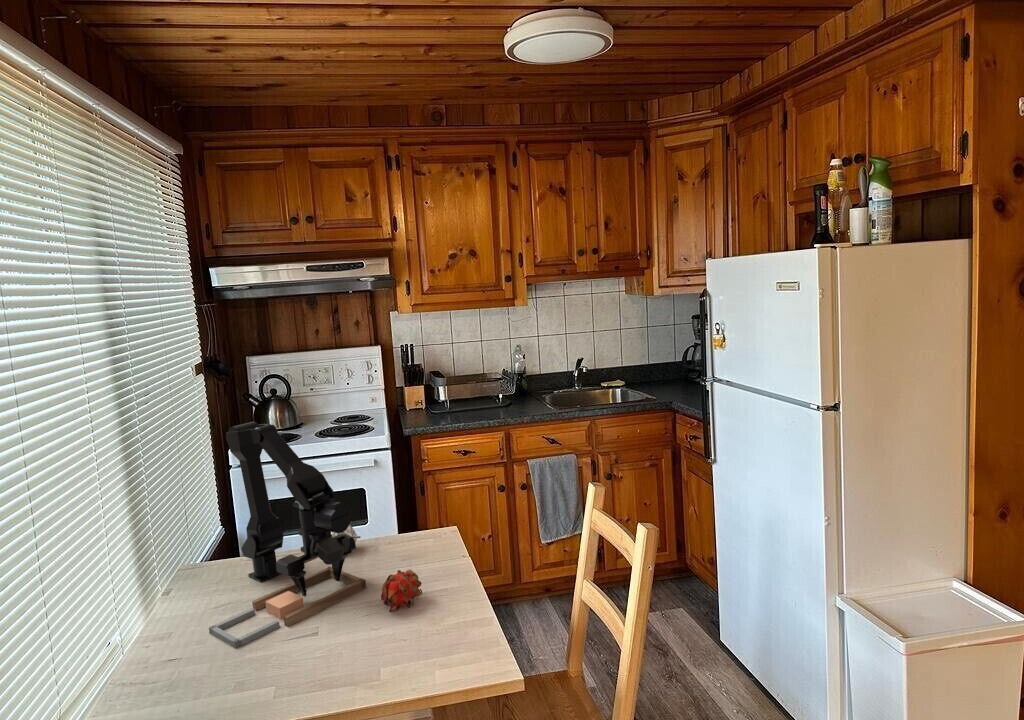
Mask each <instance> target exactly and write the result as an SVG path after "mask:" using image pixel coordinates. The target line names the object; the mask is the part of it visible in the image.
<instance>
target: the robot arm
mask: <svg viewBox="0 0 1024 720" xmlns="http://www.w3.org/2000/svg"><path fill="white" fill-rule="evenodd" d="M225 435H226V436H225V438H226V439H225V440H226V443H227V445H228V449H229V451H230V453H231V454H232V455H233V456H234V457H235V458H236V459H237V460H238V461H239V465H240V470H241V474H242V479H243V480H242V481H243V486H244V491H245V494H246V501H247V505H248V509H249V514H250V517H249V519H248V523H247V525H246V537H247V538H246V539H245V541H244V543H243V544H242V546H241V548H240V550H241V553H242V556H243V557H245V558H248V559H251V562H252V568H253V569H252V570H253V571H252V572H251V573H248V577H250V578H251V579H253V580H255V581H257V582H262V583H263V582H264V581H267V580H269V579H272V578H274V577H276V576H279V575H281V574H282V575H285V576H286V577H290V579H291V580H292V581H293V583H295V584H296V586H297V587H298V589H299V591H298V592H299V593H301V595H302V597H307V588H306V584H305V576H306V575H307V574H306V573H307V571H306V570H305V564H307V563H309V562H311V561H314V560H317V559H318V558H319V559H320V560H321V561H322V562H323V563H324V564H325V565H327V566H329V565H331V567H332V569H333V574H334V577H335V579H334V581H336V582H339V580H340V575H341V571H343V566H344V564H345V560H346V558H347V557H348V556H349V555H350V554H351V553H352V554H353V550H356V548H357V543H356V542H357V540H356V541H355V539H354V538H353V537H351V536H347V535H344V534H339V535H337V536H335V537H332V535H331V532H335V533H342V532H344V531H345V530H346V529H347V528H348V526H349V524H350V523H351V519H352V518H351V514H350V512H349V510H348V509H347V508H345V507H343V506H342V505H343V503H342V502H341V501H335V500H336V499H337V496H336V494H335V491H334V490H333V488H332V487H331V486H330V484H329V483H328V480H327V479H326V477H325V476H324V474H323V473H322V472H321V471H319V470H318V468H316V467H315V466H313V465H311V464H308V463H305V462H304V461H302V459H301V458H300V457H299V455H297V454H296V452H295V451H294V450H293V449H292V448H291V446H290V445H289V444H288V443H287V442H286V440H285V439H284V438H283V437H282V436H281V435H280V433H279V432H278V428H277V427H276V426H275V425H274V424H270V423H262V424H261V423H260V424H259V423H257V422H256V421H249V422H247V423H246V422H245V423H242V424H237V425H233V426H231V427H229V428H228V431H227V432H226V434H225ZM263 451H264V452H265V453H266V454H267V455H268V456H269V458H270V459H271V460H272V461H273V463H274V464H275V465H276V466H277V468H278V469H279V470H280V471H281V472H282V474H283V475H284V476H285V478H286V487H287V489H288V490H289V492H290V493H291V496H292V497H293V498H294V499H295V501H294V502H293V503H292V506H293V507H294V508H298V515H299V522H300V530H298V536H301V539H302V546H300V552H301V553H304V554H302V555H300V556H296V555H293V554H288V555H286V556H284V557H281V558H278V560H277V554H276V550H278V549H281V548H283V542H284V535H285V530H284V526H283V523H282V522H283V520H282V519H281V518H280V517H279V516H278V517H277V516H276V515H275V514H274V513H273V512H272V510H271V504H270V499H269V495H268V490H267V484H266V480H265V475H264V470H263V464H262V460H261V455H262V452H263Z"/></svg>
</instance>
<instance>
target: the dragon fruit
mask: <svg viewBox="0 0 1024 720" xmlns="http://www.w3.org/2000/svg"><path fill="white" fill-rule="evenodd" d="M396 571H397V572H396V574H389V575H388V577H387V578H386V580H385V582H384V583H383V584H382V587H381V591H382V593H381V595H380V600H381V602H383V604H384V605H385V606H386V607H389V610H388V611H389V613H391V612H393V611H399V610H401V609H402V607H403V606H404V605H405V606H406V607H408V608H409V609H410V608H411V607H412V606H413V605H415V597H420V596H422V595H423V589H422V588H420V587H421V586H422V583H423V582H422V581H421V580H419V576H418V574H416V573H415V572H413V570H411V569H408V570H405V571H401V570H400V569H397V570H396Z"/></svg>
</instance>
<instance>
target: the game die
mask: <svg viewBox="0 0 1024 720" xmlns="http://www.w3.org/2000/svg"><path fill="white" fill-rule="evenodd" d="M352 524H353V521H350V524H349V526H348V528H347V529H346V530H345V531H344V532H342V533H335V532H331V535H332V537H335V536H337V535H339V534H344V535H347V536H351V537H353V538H354V539H355V541H356V542H357V540H358V539H360V538H362V537H361V535H359V536H358V534H357V533H356V531H355V529H354V528H353V525H352ZM351 554H352V555H353V552H352V553H351Z"/></svg>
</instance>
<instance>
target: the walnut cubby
mask: <svg viewBox="0 0 1024 720" xmlns="http://www.w3.org/2000/svg"><path fill="white" fill-rule="evenodd" d="M304 578H305V584H306V589H307V588H309V587H311V586H313V585H315V584H317V583H320V582H322V581H324V580H327V579H328V578H331V579H334V580H335V577H334V574H333V569H332V566H328V567H326V568H324V569H321V570H319V571H317V572H314V573H313V574H309V575H308V576H306V577H305V576H304ZM339 581H340V582H341V583H344V584H347V585H346V586H344V587H342V588H340V589H338V590H336V591H333V592H332V593H329V594H327V595H325V596H323V597H322V598H319V599H318V600H315V601H314V602H311V603H308V604H307V605H304V607H302V608H300V609H298V610H296V611H294V612H292V613H290V614H288V615H286V616H284V619H283V622H284V623H283V624H284V627H285V626H286V627H290V626H292V625H294V624H297V622H300V621H302V620H304V619H306V618H308V617H310V616H312V615H314V614H316V613H318V612H320V611H322V610H325V609H326V608H328V607H330V606H333V605H334V604H336V603H338V602H340V601H343V600H345V599H347V598H349V597H350V596H353V595H355V594H356V593H358V592H361V591H363V590H364V589H367V581H366V579H364V578H361V577H359V576H357V575H354V574H352V573H348V572H346V571H344V570H342V571H341V575H340V580H339ZM339 581H338V582H339ZM287 591H290V592H292V593H295V594H297V593H298V592H300V591H299V589H298V587H297V586H296V584H295V583H294V582H293V583H292V582H291V583H289V584H288V585H284V586H283V587H281V588H278V589H276V590H275V591H271V592H270V593H267V594H264V595H263V596H261V597H259V598H256V599H253V600H252V601H251V602H252V608H253V609H255V612H256V611H258V610H261V609H263V608H264V607H265V608H266V603H265V601H267V600H270V599H272V598H274V597H276V596H278V595H281V594H283V593H285V592H287Z"/></svg>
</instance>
